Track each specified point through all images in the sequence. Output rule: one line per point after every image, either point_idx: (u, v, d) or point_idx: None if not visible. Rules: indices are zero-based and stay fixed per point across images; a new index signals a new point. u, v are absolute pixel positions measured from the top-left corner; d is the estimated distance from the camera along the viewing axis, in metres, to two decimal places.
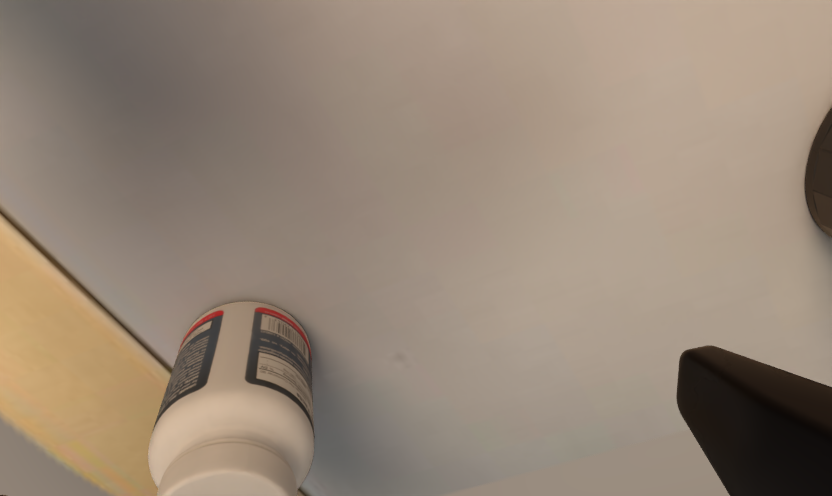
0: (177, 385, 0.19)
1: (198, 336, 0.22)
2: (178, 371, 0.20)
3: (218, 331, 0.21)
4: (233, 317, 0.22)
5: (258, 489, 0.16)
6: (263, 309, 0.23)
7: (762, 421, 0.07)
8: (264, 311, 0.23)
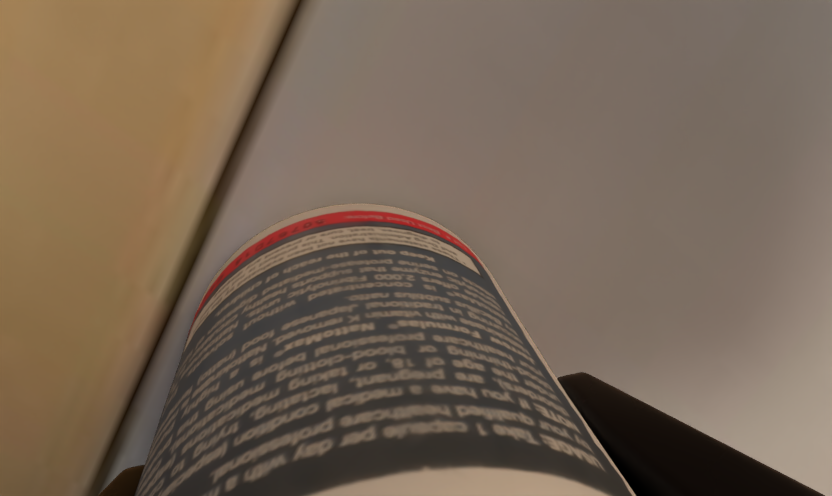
0: (494, 382, 0.05)
1: (460, 268, 0.07)
2: (447, 319, 0.06)
3: (507, 306, 0.08)
4: None
5: None
6: None
7: (610, 456, 0.06)
8: None
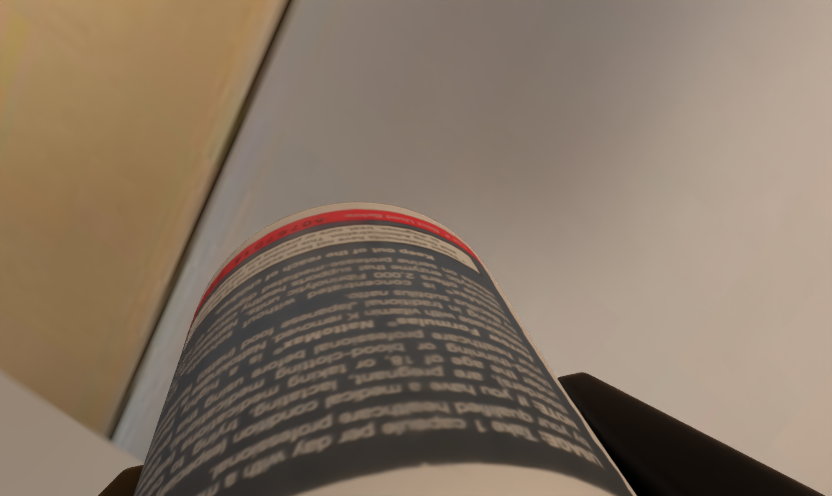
0: (493, 379, 0.05)
1: (459, 266, 0.07)
2: (446, 317, 0.06)
3: (505, 304, 0.08)
4: (506, 299, 0.09)
5: None
6: None
7: (610, 456, 0.06)
8: None
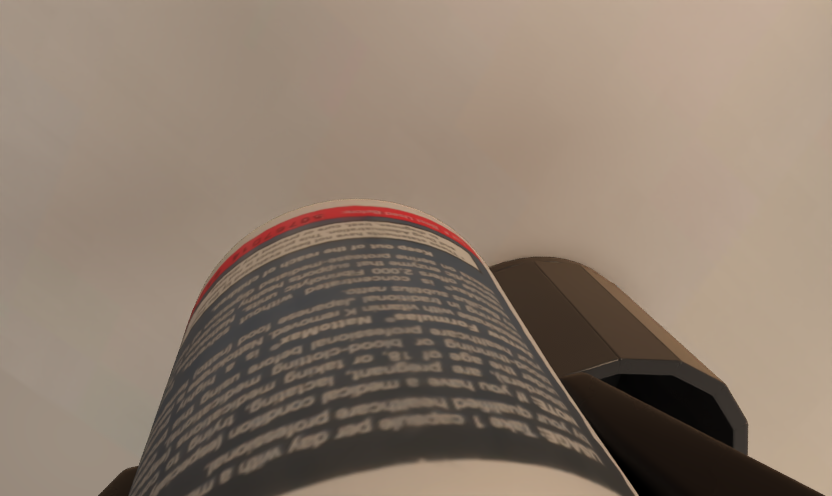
0: (492, 375, 0.05)
1: (458, 262, 0.07)
2: (445, 312, 0.06)
3: (504, 301, 0.08)
4: (506, 296, 0.08)
5: None
6: None
7: None
8: None
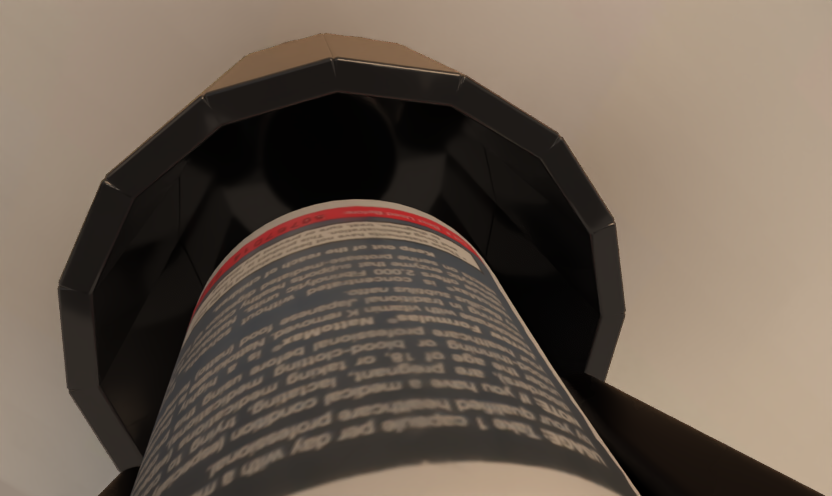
0: (493, 377, 0.05)
1: (460, 263, 0.07)
2: (447, 313, 0.06)
3: (507, 302, 0.08)
4: None
5: None
6: None
7: None
8: None
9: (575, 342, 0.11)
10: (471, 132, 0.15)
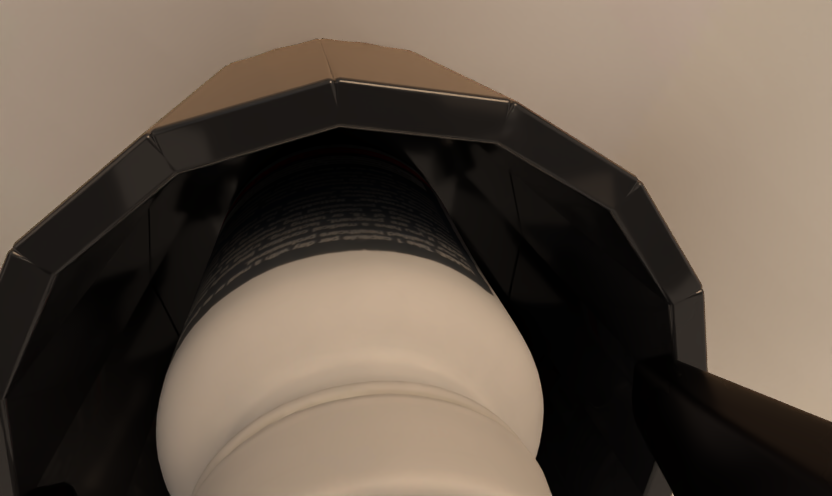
0: (414, 228, 0.08)
1: (411, 183, 0.11)
2: (392, 200, 0.09)
3: (443, 212, 0.11)
4: (449, 215, 0.12)
5: None
6: None
7: (706, 434, 0.07)
8: None
9: (638, 429, 0.09)
10: (495, 154, 0.13)
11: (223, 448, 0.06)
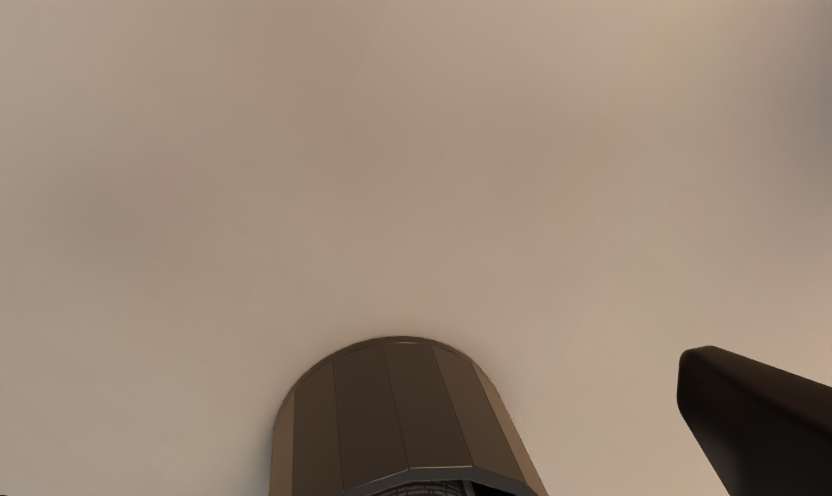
0: None
1: None
2: None
3: None
4: None
5: None
6: None
7: (762, 421, 0.07)
8: None
9: None
10: None
11: None
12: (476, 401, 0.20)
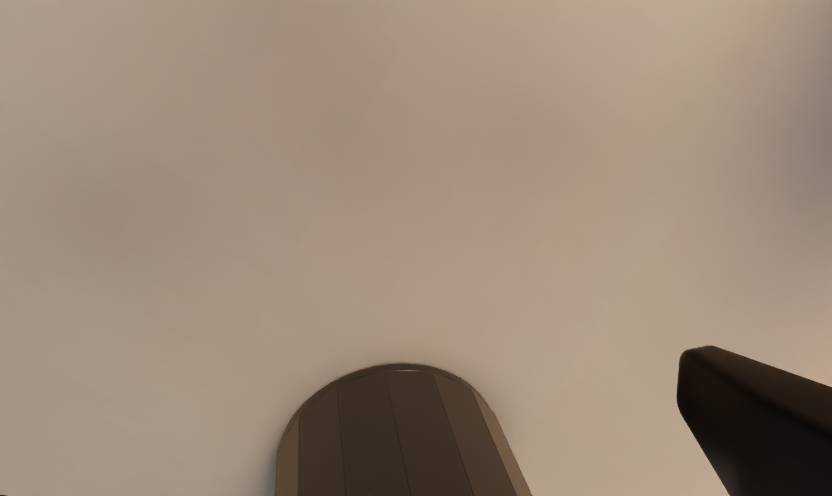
0: None
1: None
2: None
3: None
4: None
5: None
6: None
7: (762, 421, 0.07)
8: None
9: None
10: None
11: None
12: (476, 431, 0.21)
